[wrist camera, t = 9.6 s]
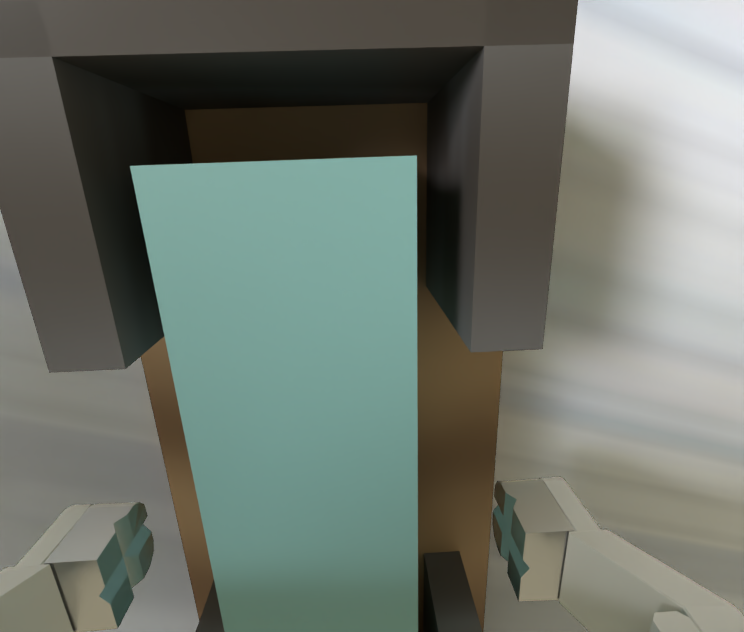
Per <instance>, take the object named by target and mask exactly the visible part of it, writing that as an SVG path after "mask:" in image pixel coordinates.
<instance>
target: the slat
mask: <svg viewBox="0 0 744 632" xmlns="http://www.w3.org/2000/svg"><path fill="white" fill-rule="evenodd" d="M130 169H131V174H132V179H133V184H134V189H135V194H136V199H137V204H138V208H139V213H140V218H141V223H142V228H143V233H144V238H145V243H146V248H147V253H148V258H149V263H150V267H151V272H152V277H153V282H154V287H155V292H156V297H157V302H158V307H159V312H160V317H161V322H162V326H163V331H164V336H165V341H166V346H167V351H168V356H169V361H170V366H171V371H172V376H173V381H174V385H175V390H176V395H177V400H178V405H179V410H180V415H181V420H182V425H183V430H184V435H185V440H186V444H187V449H188V454H189V459H190V464H191V469H192V474H193V479H194V484H195V489H196V494H197V499H198V503H199V508H200V513H201V518H202V523H203V528H204V533H205V538H206V543H207V548H208V553H209V558H210V562H211V567H212V572H213V577H214V582H215V587H216V592H217V597H218V602H219V607H220V612H221V617H222V621H223V626H224V631H225V632H418V409H417V155H415V156H388V157H360V158H333V159H306V160H278V161H251V162H224V163H196V164H169V165H141V166H130Z"/></svg>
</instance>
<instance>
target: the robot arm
mask: <svg viewBox="0 0 744 632" xmlns="http://www.w3.org/2000/svg"><path fill="white" fill-rule="evenodd" d="M494 496H495V499H496V501H497V503H498V506H497V507H496V508H495V509H494V511H493V530H494V537H495V541H496V545H497V547H498V550H499V553H500V555H501V556H502V557H503V558H504V559H506V560H507V561H508V572H507V573H508V576H509V578H510V581H511V583H512V586H513V588H514V591H515V593H516V596H517V598H518V601H543V600H559V603H560V604H561V605H562V606H563V607H564V608H565V609H566V610H567V611H569V612H570V613H571V614H572V615H573V616H574V617H575V618H576V619H577V620H578V621H579V622H580V623H581V624H582V625H583V626H584V627H585V628H586V629H587V630H588V631H589V632H744V615H743V614H742V613H741V612H740V611H739V610H738V609H737V608H736V606H735V605H733V604H731V603H730V602H728V601H726V600H725V599H723V598H721V597H720V596H718V595H716V594H715V593H713V592H711V591H710V590H708V589H706V588H705V587H703V586H701V585H700V584H698V583H696V582H694V581H693V580H691V579H689V578H688V577H686V576H684V575H683V574H681V573H679V572H678V571H676V570H674V569H673V568H671V567H669V566H668V565H666V564H664V563H663V562H661V561H659V560H658V559H656V558H654V557H653V556H651V555H649V554H648V553H646V552H644V551H643V550H641V549H639V548H638V547H636V546H634V545H632V544H631V543H629V542H627V541H626V540H624V539H622V538H621V537H619V536H617V535H616V534H614V533H612V532H611V531H609V530H601V529H600V528H599V527H598V525H597V524H596V522H595V521H594V520H593V518H592V517H591V516H590V514H589V513H588V511H587V510H586V509H585V507H584V506H583V504H582V503H581V502H580V500H579V499H578V497H577V496H576V495H575V493H574V492H573V490H572V489H571V488H570V486H569V485H568V483H567V482H566V481H565V479H563V478H562V477H547V478H539V479H526V480H510V481H497V482H496V485H495V492H494ZM146 518H147V512H146V509H145V506H144V504H142V503H140V502H127V503H97V504H81V505H72V506H70V507H68V508H66V509H65V510H64V511H63V512H62V513H61V515H60V516H59V517H58V518H57V519H56V520H55V521H54V523H53V524H52V525H51V526H50V527H49V528H48V529H47V531H46V532H45V533H44V534H43V535H42V536H41V537H40V539H39V540H38V541H37V542H36V543H35V544H34V545H33V547H32V548H31V549H30V550H29V551H28V552H27V553H26V555H25V556H24V557H23V558H22V559H21V560H20V561H19V563H18V564H17V565H16V566H13V567H7V568H5V569H3V570H2V571H0V632H86V631H96V630H106V629H116V628H118V627H119V625H120V623H121V621H122V619H123V617H124V615H125V613H126V612H127V610H128V608H129V606H130V604H131V602H132V600H133V598H134V596H133V592H132V587H134V586H135V585H136V584H137V583H139V582H140V581H141V580H142V579H143V578H144V577H145V575H146V573H147V571H148V569H149V567H150V564H151V560H152V556H153V551H154V544H153V536H152V532H151V531H150V530H149V529H148V528H147V527H145V526H144V525H143V523H144V521H145V519H146Z"/></svg>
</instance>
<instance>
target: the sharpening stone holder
mask: <svg viewBox="0 0 744 632" xmlns="http://www.w3.org/2000/svg"><path fill="white" fill-rule="evenodd" d="M577 5H578V0H0V209H1V213H2V216H3V219H4V223H5V226H6V229H7V233H8V236H9V239H10V243H11V246H12V249H13V253H14V256H15V259H16V263H17V266H18V269H19V273H20V276H21V279H22V283H23V286H24V289H25V293H26V296H27V299H28V303H29V306H30V309H31V313H32V316H33V320H34V323H35V326H36V330H37V333H38V336H39V340H40V343H41V346H42V350H43V353H44V356H45V360H46V363H47V366H48V370H49V373H50V372H71V371H92V370H113V369H126V368H127V367H128V366H130V365H131V364H132V363H133V362H134V361H136V360H137V359H138V358H139V357H140V356H141V359H142V364H143V368H144V373H145V377H146V382H147V386H148V391H149V395H150V400H151V404H152V409H153V413H154V418H155V422H156V427H157V432H158V436H159V441H160V445H161V450H162V454H163V459H164V463H165V468H166V472H167V477H168V481H169V486H170V490H171V495H172V499H173V504H174V508H175V513H176V517H177V522H178V526H179V531H180V535H181V540H182V544H183V549H184V553H185V558H186V562H187V567H188V571H189V576H190V580H191V585H192V589H193V594H194V598H195V603H196V607H197V612H198V616H199V624H198V627H197V630H196V632H225V631H224V626H223V621H222V617H221V612H220V607H219V602H218V597H217V592H216V587H215V582H214V577H213V572H212V567H211V562H210V558H209V553H208V548H207V543H206V538H205V533H204V528H203V523H202V518H201V513H200V508H199V503H198V499H197V494H196V489H195V484H194V479H193V474H192V469H191V464H190V459H189V454H188V449H187V444H186V440H185V435H184V430H183V425H182V420H181V415H180V410H179V405H178V400H177V395H176V390H175V385H174V381H173V376H172V371H171V366H170V361H169V356H168V351H167V346H166V341H165V336H164V331H163V326H162V322H161V317H160V312H159V307H158V302H157V297H156V292H155V287H154V282H153V277H152V272H151V267H150V263H149V258H148V253H147V248H146V243H145V238H144V233H143V228H142V223H141V218H140V213H139V208H138V204H137V199H136V194H135V189H134V184H133V179H132V174H131V169H130V166H141V165H169V164H196V163H224V162H251V161H278V160H306V159H333V158H360V157H388V156H415V155H417V409H418V632H483V628H484V613H485V599H486V585H487V570H488V556H489V542H490V528H491V513H492V499H493V485H494V470H495V456H496V442H497V427H498V413H499V399H500V385H501V370H502V356H503V351H514V350H535V349H543V339H544V329H545V320H546V310H547V300H548V290H549V280H550V270H551V261H552V251H553V241H554V231H555V221H556V211H557V202H558V192H559V182H560V172H561V162H562V152H563V143H564V133H565V123H566V113H567V103H568V93H569V84H570V74H571V64H572V54H573V44H574V34H575V25H576V15H577Z"/></svg>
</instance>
